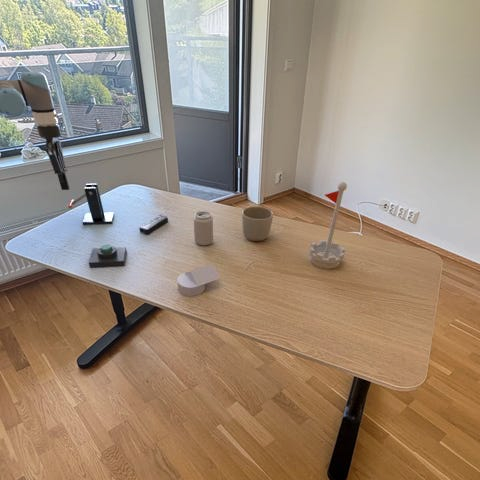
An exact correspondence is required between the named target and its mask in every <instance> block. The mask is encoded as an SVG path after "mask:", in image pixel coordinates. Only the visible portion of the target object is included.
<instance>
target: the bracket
mask: <svg viewBox="0 0 480 480" xmlns="http://www.w3.org/2000/svg"><path fill="white" fill-rule="evenodd" d="M92 185H93V186H94V187H91V186H92ZM83 189H84V193H85V194H86V197H85V198H86V201H87V205H88V208H89V212H86V213H85V214H84V217H83V220H82V225H83V226H88V225H89V226H91V225H112V224H113V222H114V218H115V212H105V211H104V207H103V206H104V205H103V203H102V199H101V198H102V197H101V193H100V190H99V186H98V183H86V184H85V187H84V188H83ZM96 189H97V190H96Z"/></svg>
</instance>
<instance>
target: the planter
mask: <svg viewBox="0 0 480 480" xmlns="http://www.w3.org/2000/svg"><path fill="white" fill-rule="evenodd" d="M273 218H274V212H273V210H271V209H270V208H268V207H265V206H257V205H255V206H254V205H253V206H248V207H246V208H244V209H243V210H242V212H241V225H242V233H243V236H244V237H245V238H246V239H248V240H250V241H251V242H261V241H264V240H266V239H267V238H268V237H269V236H270V234H271V229H272V224H273Z"/></svg>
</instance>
